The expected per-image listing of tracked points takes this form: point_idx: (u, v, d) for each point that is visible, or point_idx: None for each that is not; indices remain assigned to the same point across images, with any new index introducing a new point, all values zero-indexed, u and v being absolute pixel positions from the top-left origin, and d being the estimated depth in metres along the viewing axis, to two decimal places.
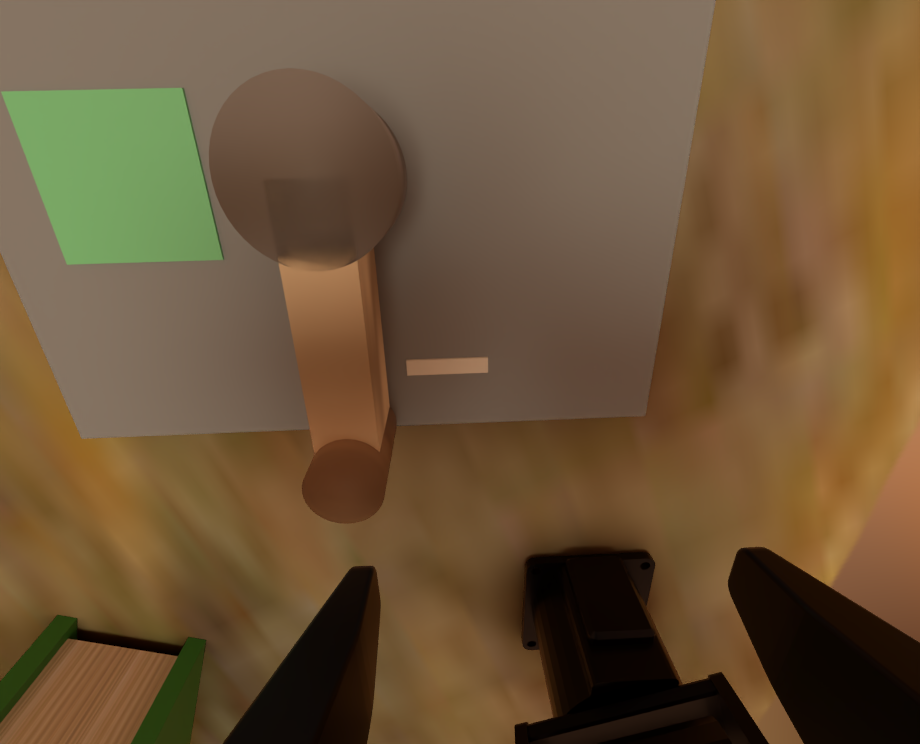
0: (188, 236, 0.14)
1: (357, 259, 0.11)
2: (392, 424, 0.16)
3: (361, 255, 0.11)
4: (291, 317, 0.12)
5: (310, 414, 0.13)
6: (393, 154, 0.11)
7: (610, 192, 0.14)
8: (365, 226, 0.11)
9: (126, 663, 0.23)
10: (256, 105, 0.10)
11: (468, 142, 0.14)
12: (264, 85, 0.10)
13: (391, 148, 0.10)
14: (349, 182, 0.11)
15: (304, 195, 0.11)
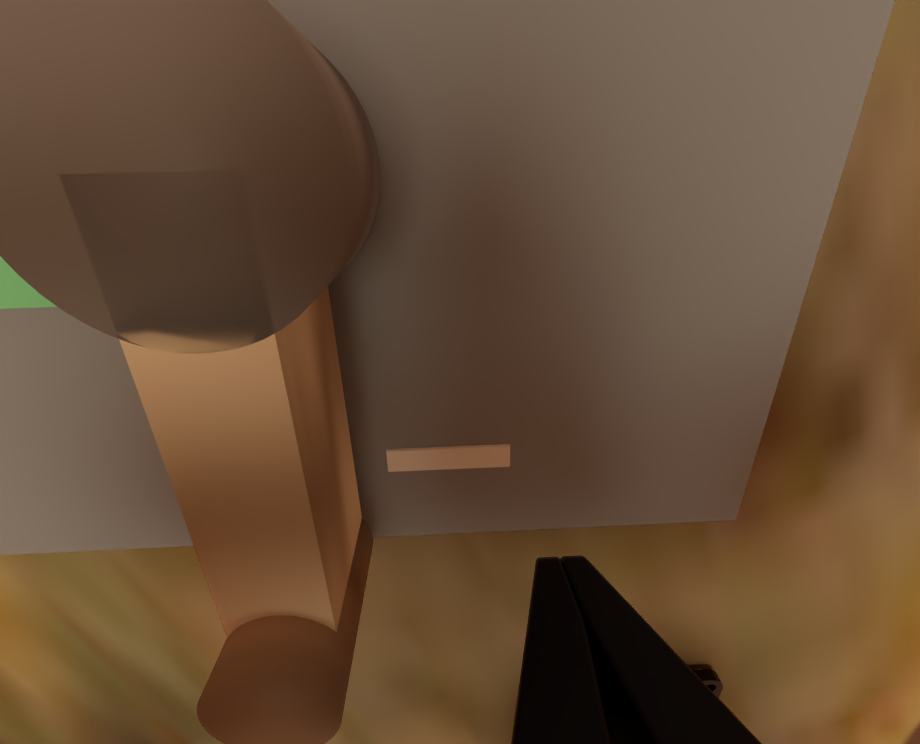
0: None
1: (274, 331, 0.06)
2: (364, 551, 0.10)
3: (282, 324, 0.06)
4: (159, 434, 0.06)
5: (212, 582, 0.08)
6: (336, 121, 0.05)
7: (716, 196, 0.09)
8: (286, 269, 0.06)
9: None
10: (15, 4, 0.04)
11: (485, 111, 0.08)
12: None
13: (330, 107, 0.05)
14: (245, 181, 0.05)
15: (153, 207, 0.05)
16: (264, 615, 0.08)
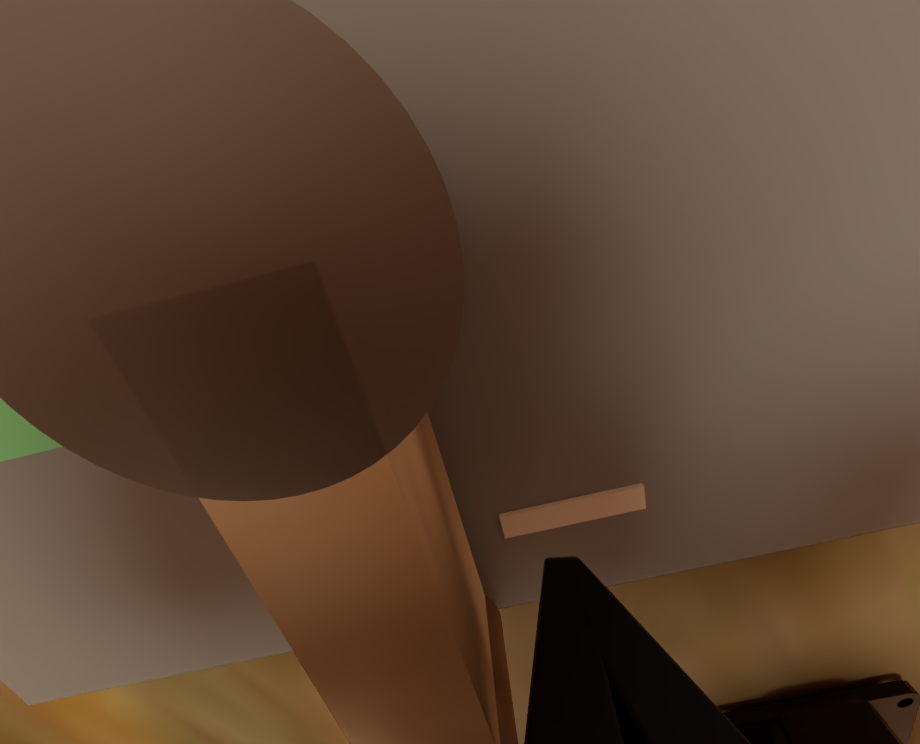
0: None
1: (387, 452, 0.04)
2: (499, 637, 0.09)
3: (395, 442, 0.04)
4: (264, 592, 0.05)
5: (352, 736, 0.06)
6: (433, 164, 0.03)
7: (878, 134, 0.07)
8: (391, 374, 0.04)
9: None
10: None
11: (564, 101, 0.06)
12: None
13: (425, 147, 0.03)
14: (323, 274, 0.04)
15: (211, 334, 0.04)
16: None
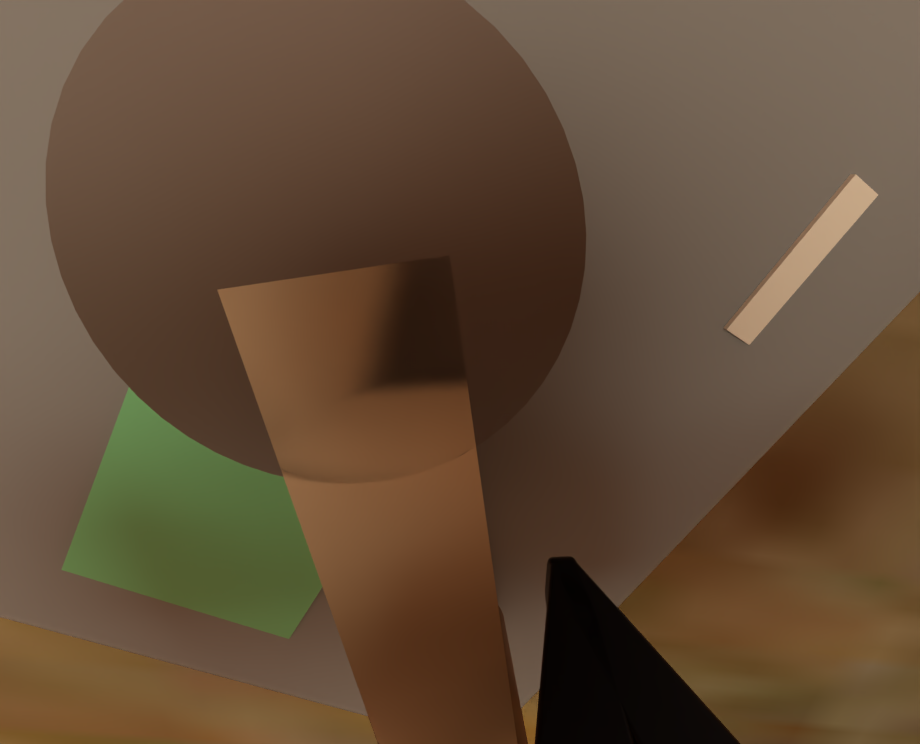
0: None
1: (476, 444, 0.05)
2: (506, 641, 0.09)
3: (486, 435, 0.05)
4: (326, 577, 0.05)
5: (380, 731, 0.06)
6: (575, 178, 0.04)
7: None
8: (496, 369, 0.04)
9: None
10: (167, 79, 0.03)
11: None
12: (182, 10, 0.03)
13: (573, 162, 0.04)
14: (454, 268, 0.04)
15: (334, 315, 0.04)
16: None
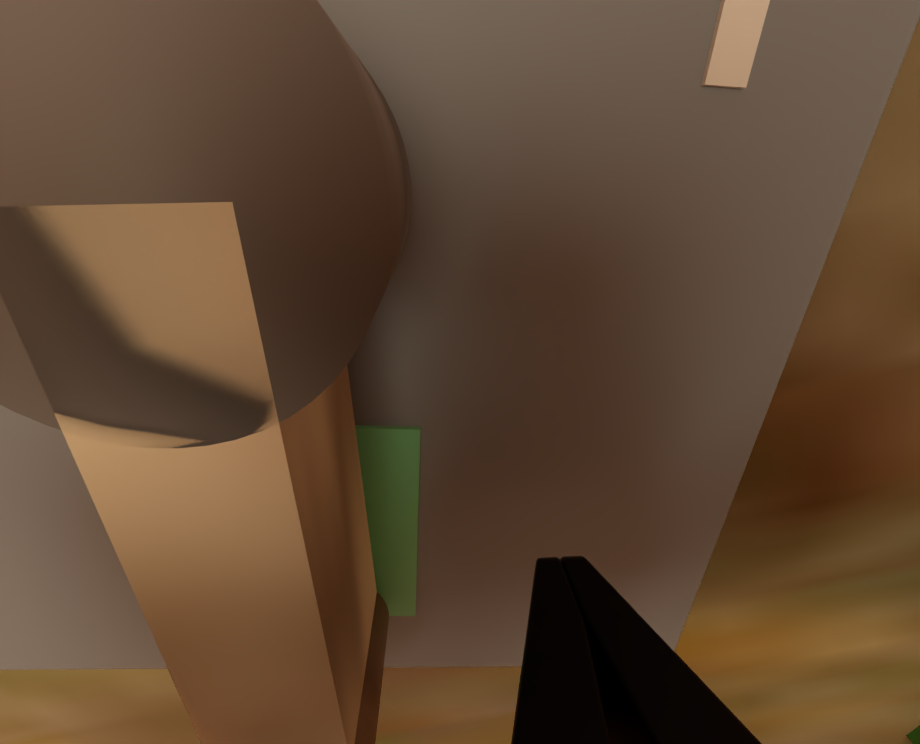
0: (379, 468, 0.09)
1: (279, 420, 0.04)
2: (381, 636, 0.09)
3: (289, 411, 0.04)
4: (121, 547, 0.05)
5: (195, 716, 0.06)
6: (375, 131, 0.03)
7: None
8: (296, 339, 0.04)
9: None
10: None
11: None
12: None
13: (368, 111, 0.03)
14: (239, 218, 0.03)
15: (104, 254, 0.04)
16: None
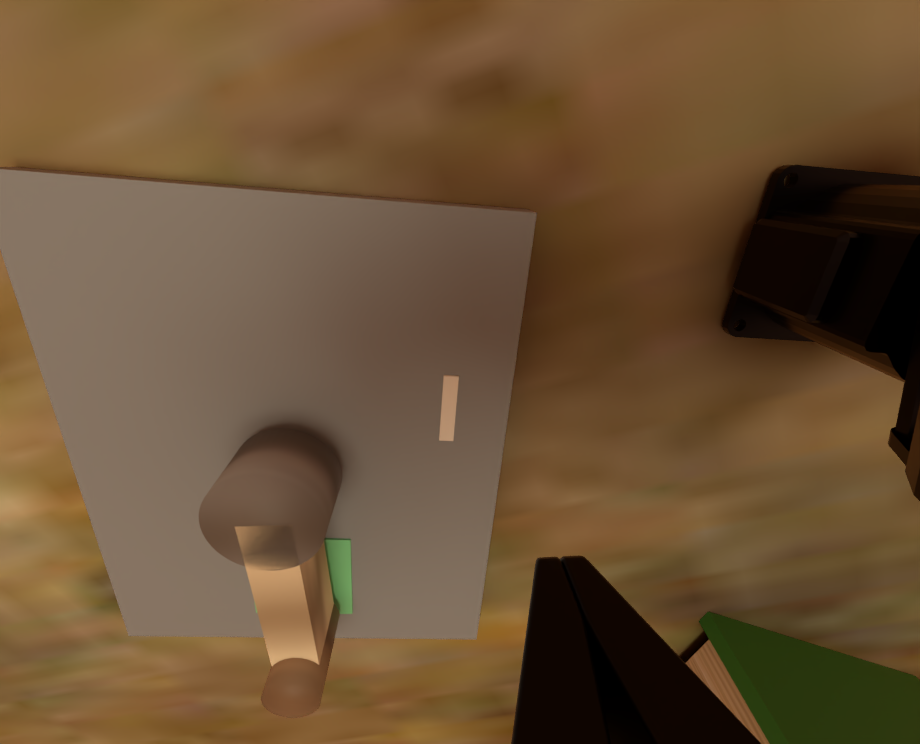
0: (335, 553, 0.21)
1: (299, 564, 0.17)
2: (334, 622, 0.21)
3: (302, 562, 0.17)
4: (254, 594, 0.17)
5: (268, 645, 0.19)
6: (322, 513, 0.16)
7: (293, 265, 0.16)
8: (304, 548, 0.17)
9: (697, 670, 0.27)
10: (230, 492, 0.15)
11: (262, 379, 0.17)
12: (235, 483, 0.15)
13: (320, 511, 0.16)
14: (292, 527, 0.16)
15: (262, 533, 0.16)
16: (288, 658, 0.19)
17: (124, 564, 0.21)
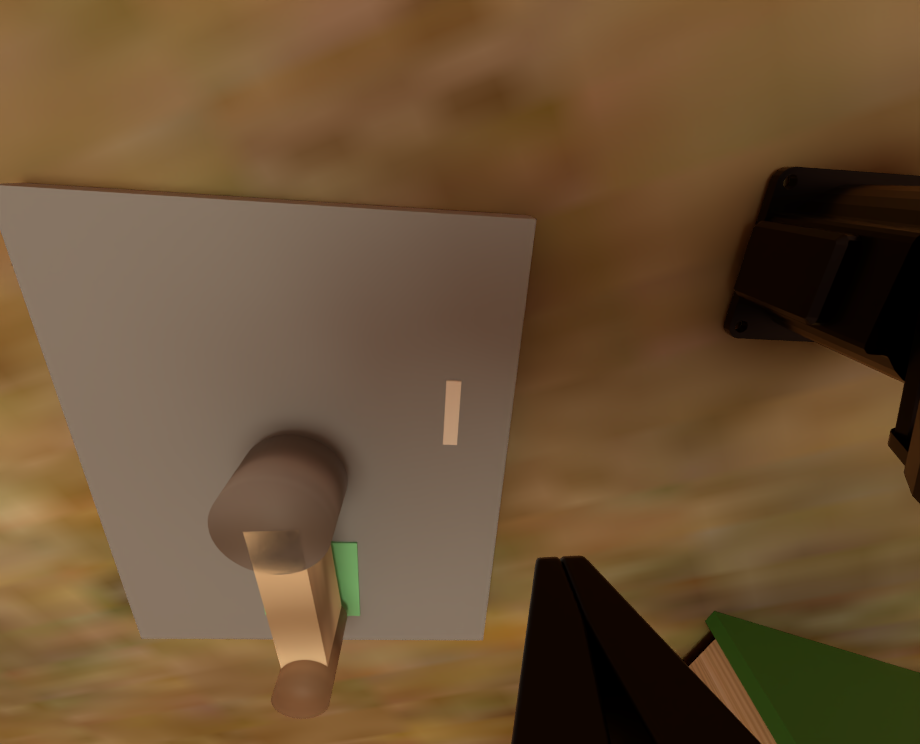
0: (341, 556, 0.22)
1: (306, 568, 0.17)
2: (342, 624, 0.22)
3: (309, 566, 0.17)
4: (263, 597, 0.18)
5: (277, 647, 0.19)
6: (328, 518, 0.16)
7: (296, 274, 0.16)
8: (311, 552, 0.17)
9: (703, 669, 0.27)
10: (238, 498, 0.16)
11: (268, 386, 0.18)
12: (243, 489, 0.15)
13: (326, 516, 0.16)
14: (299, 532, 0.16)
15: (270, 538, 0.16)
16: (297, 660, 0.19)
17: (136, 568, 0.21)
